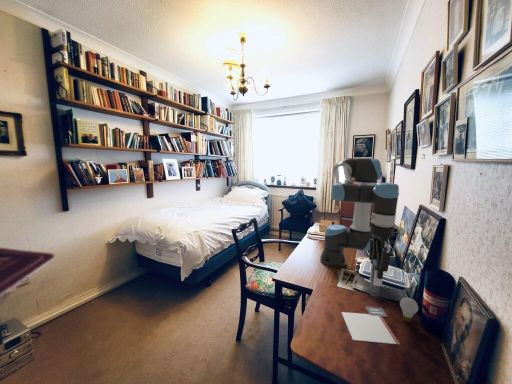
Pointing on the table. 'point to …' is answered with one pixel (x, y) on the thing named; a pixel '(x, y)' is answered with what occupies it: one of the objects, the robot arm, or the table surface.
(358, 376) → the table surface
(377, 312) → the word card
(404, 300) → the light bulb
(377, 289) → the marker
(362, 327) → the notepad
